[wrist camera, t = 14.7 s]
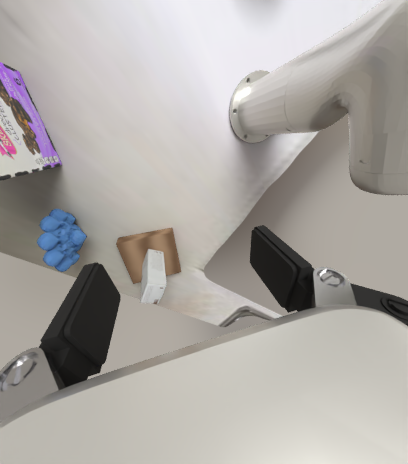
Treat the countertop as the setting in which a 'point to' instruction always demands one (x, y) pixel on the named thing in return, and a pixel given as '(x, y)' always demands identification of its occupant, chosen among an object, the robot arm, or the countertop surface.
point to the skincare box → (153, 277)
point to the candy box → (21, 130)
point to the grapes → (60, 239)
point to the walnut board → (138, 246)
